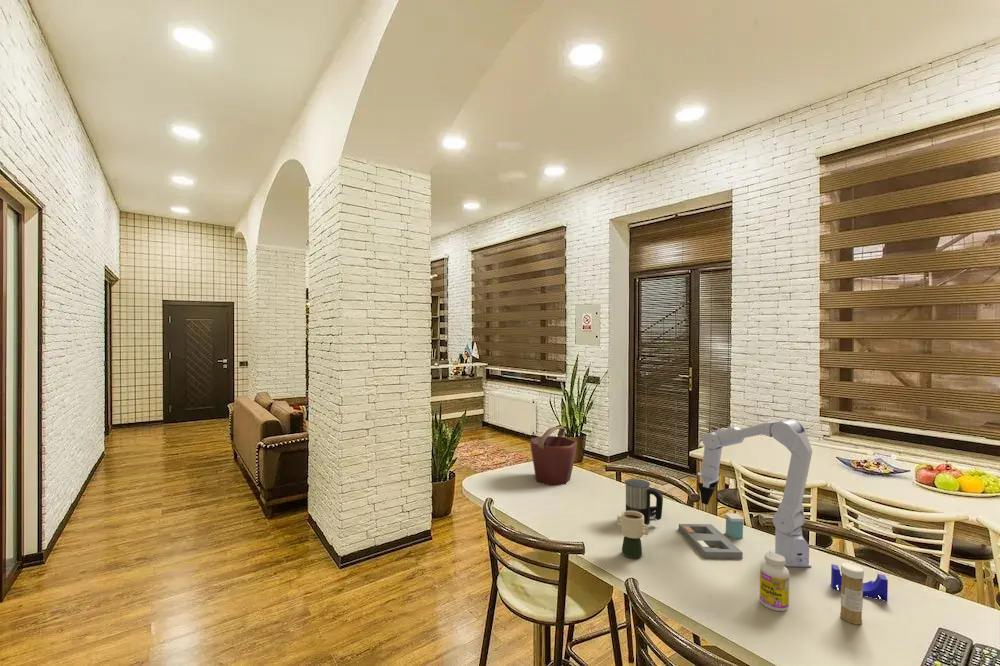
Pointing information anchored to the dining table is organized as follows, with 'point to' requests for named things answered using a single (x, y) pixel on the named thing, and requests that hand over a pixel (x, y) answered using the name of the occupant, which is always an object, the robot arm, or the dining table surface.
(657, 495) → the milk frother
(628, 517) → the character mug
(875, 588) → the cable clip
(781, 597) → the supplement bottle
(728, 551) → the socket plate
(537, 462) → the bucket
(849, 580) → the sprinkles bottle
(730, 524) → the plug
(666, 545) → the dining table surface
